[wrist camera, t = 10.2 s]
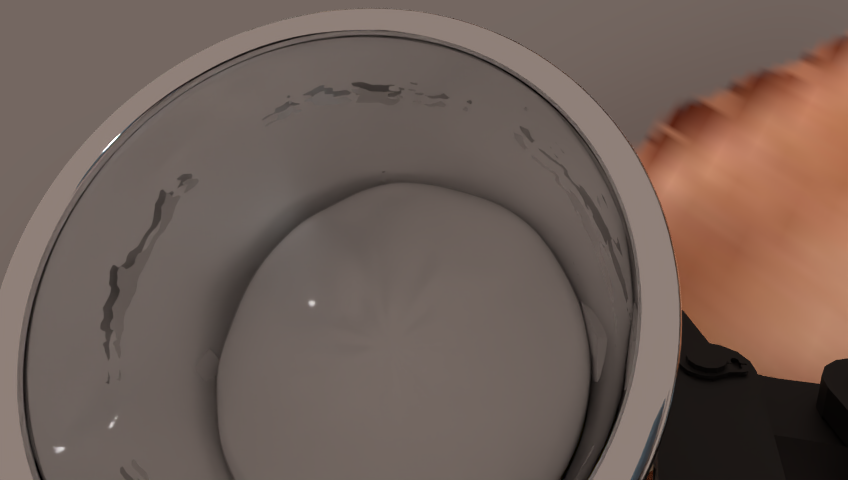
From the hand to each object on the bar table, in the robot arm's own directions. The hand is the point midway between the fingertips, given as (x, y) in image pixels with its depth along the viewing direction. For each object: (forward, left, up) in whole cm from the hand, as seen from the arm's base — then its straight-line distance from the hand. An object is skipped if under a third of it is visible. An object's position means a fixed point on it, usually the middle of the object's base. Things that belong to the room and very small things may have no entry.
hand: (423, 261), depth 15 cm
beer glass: (-2, +3, -6) cm, 7 cm away
